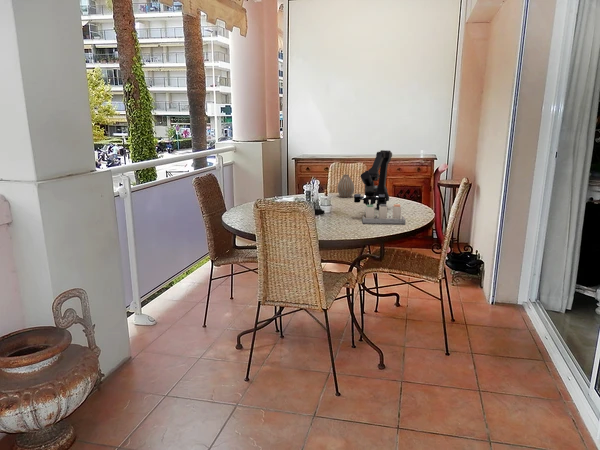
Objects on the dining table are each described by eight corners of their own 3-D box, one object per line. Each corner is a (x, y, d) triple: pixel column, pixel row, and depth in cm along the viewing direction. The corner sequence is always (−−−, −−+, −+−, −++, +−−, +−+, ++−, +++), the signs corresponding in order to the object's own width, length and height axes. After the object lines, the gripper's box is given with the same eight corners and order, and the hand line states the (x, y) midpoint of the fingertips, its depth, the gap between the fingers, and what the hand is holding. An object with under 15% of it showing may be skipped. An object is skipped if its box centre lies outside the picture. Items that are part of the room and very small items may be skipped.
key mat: (362, 219, 267) (362, 218, 267) (402, 220, 264) (402, 218, 264) (362, 224, 256) (362, 222, 256) (405, 224, 253) (405, 223, 253)
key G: (365, 219, 263) (366, 204, 261) (373, 219, 263) (373, 204, 261) (365, 220, 259) (366, 205, 257) (373, 220, 259) (373, 206, 257)
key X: (378, 218, 265) (379, 203, 262) (386, 218, 264) (386, 204, 262) (379, 220, 260) (379, 205, 258) (386, 220, 260) (387, 205, 258)
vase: (340, 198, 335) (340, 176, 331) (335, 196, 348) (335, 174, 344) (356, 198, 338) (357, 175, 334) (350, 195, 351) (351, 173, 347)
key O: (392, 218, 264) (393, 204, 262) (399, 218, 263) (400, 204, 261) (393, 220, 259) (393, 205, 257) (400, 220, 259) (401, 205, 257)
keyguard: (362, 218, 266) (362, 214, 265) (403, 219, 263) (403, 215, 262) (362, 222, 256) (362, 218, 255) (405, 223, 253) (405, 219, 252)
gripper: (354, 180, 264) (354, 202, 256) (385, 181, 262) (386, 202, 254) (354, 191, 274) (353, 212, 266) (384, 191, 272) (385, 213, 264)
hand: (369, 209), depth 262 cm, fingers closed, pressing on key G
